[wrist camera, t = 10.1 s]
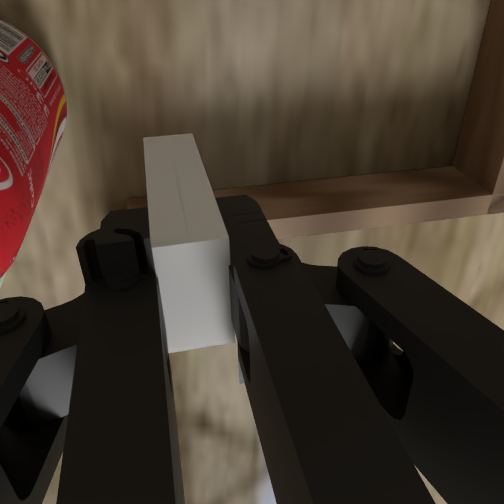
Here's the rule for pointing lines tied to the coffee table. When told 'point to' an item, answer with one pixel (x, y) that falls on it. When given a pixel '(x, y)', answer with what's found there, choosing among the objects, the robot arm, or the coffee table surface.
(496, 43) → the wooden open tray
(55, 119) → the soda can
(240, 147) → the coffee table surface
